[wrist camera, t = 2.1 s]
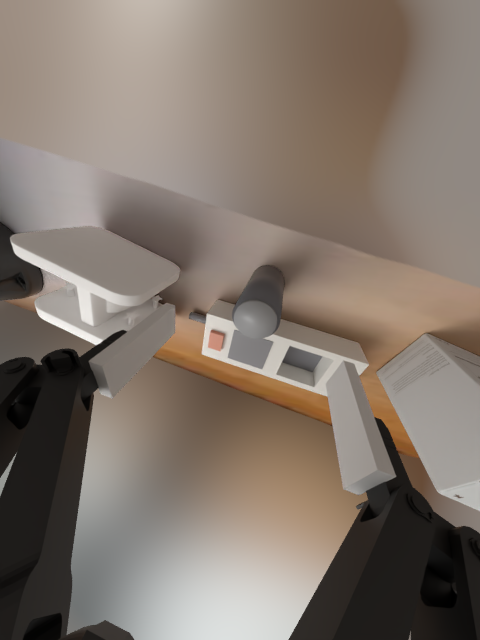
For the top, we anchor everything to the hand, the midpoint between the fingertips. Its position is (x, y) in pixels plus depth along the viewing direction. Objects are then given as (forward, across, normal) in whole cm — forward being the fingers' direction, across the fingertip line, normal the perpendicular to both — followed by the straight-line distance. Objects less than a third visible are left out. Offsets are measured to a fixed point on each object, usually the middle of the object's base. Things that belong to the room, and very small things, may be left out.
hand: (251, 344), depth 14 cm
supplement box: (+14, +25, -5) cm, 29 cm away
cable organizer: (+14, -20, -5) cm, 25 cm away
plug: (+14, 0, 0) cm, 14 cm away
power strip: (+14, +2, -9) cm, 17 cm away
